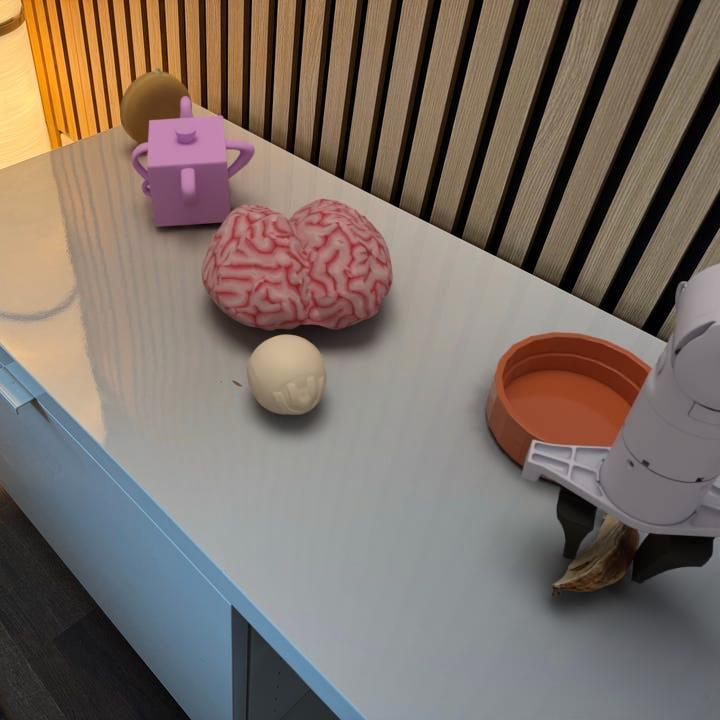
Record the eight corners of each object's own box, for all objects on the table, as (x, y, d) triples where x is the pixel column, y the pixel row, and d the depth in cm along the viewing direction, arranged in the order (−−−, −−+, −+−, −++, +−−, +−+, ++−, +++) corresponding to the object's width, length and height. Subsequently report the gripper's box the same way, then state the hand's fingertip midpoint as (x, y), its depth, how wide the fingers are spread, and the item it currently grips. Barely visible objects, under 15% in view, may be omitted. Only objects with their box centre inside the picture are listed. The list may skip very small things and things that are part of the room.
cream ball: (269, 443, 65) (268, 391, 60) (237, 385, 69) (234, 333, 65) (340, 419, 66) (344, 366, 61) (304, 364, 71) (306, 311, 66)
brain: (364, 232, 85) (372, 152, 78) (407, 344, 72) (421, 262, 65) (197, 249, 84) (189, 170, 77) (211, 365, 71) (204, 284, 64)
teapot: (141, 164, 96) (130, 89, 89) (250, 157, 97) (247, 81, 89) (136, 251, 84) (123, 172, 77) (261, 243, 84) (259, 163, 77)
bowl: (658, 393, 67) (678, 358, 64) (644, 514, 58) (666, 481, 55) (502, 351, 71) (513, 316, 68) (468, 458, 63) (479, 424, 60)
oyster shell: (578, 570, 60) (562, 627, 51) (554, 528, 60) (534, 577, 52) (654, 545, 57) (651, 601, 48) (629, 501, 57) (620, 549, 49)
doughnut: (185, 127, 103) (177, 55, 95) (198, 139, 100) (192, 65, 93) (122, 149, 99) (110, 75, 92) (135, 161, 97) (124, 87, 90)
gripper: (810, 432, 45) (716, 549, 55) (557, 363, 50) (511, 483, 59) (816, 527, 41) (713, 636, 50) (538, 442, 45) (492, 557, 55)
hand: (603, 559), depth 54 cm, fingers closed on oyster shell, 4 cm apart
